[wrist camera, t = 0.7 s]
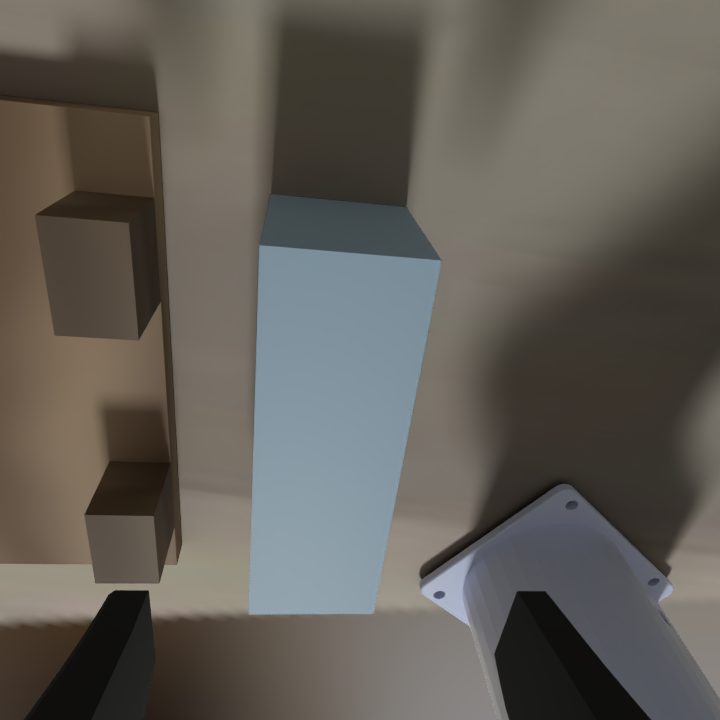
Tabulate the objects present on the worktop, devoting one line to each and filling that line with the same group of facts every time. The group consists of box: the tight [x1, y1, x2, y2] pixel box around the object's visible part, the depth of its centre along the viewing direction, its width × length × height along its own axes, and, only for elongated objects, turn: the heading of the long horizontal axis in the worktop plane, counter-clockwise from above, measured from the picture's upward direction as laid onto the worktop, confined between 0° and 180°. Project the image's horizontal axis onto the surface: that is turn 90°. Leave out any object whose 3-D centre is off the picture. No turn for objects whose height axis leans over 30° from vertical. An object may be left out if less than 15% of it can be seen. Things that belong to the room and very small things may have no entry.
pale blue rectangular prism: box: [249, 194, 442, 614], centre depth 18 cm, size 4×14×5 cm, turn 173°
